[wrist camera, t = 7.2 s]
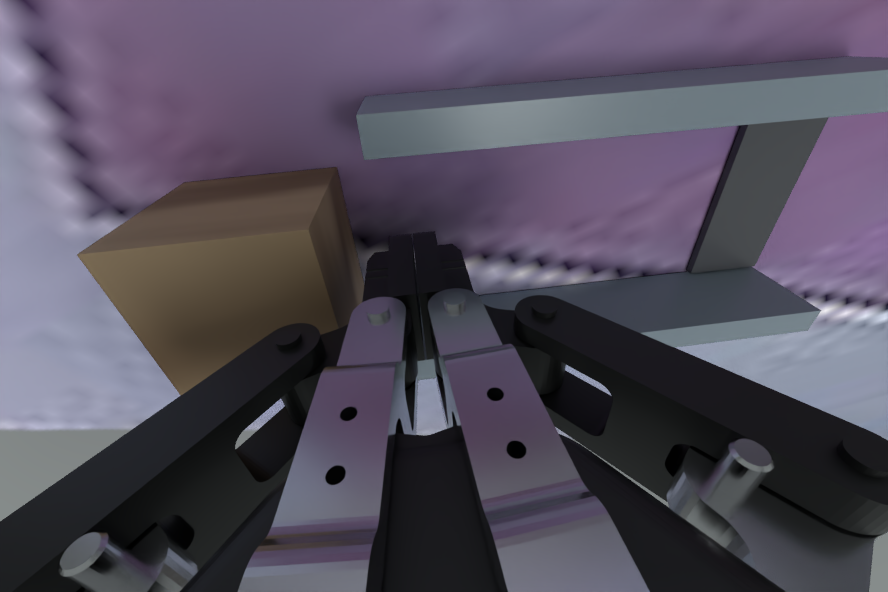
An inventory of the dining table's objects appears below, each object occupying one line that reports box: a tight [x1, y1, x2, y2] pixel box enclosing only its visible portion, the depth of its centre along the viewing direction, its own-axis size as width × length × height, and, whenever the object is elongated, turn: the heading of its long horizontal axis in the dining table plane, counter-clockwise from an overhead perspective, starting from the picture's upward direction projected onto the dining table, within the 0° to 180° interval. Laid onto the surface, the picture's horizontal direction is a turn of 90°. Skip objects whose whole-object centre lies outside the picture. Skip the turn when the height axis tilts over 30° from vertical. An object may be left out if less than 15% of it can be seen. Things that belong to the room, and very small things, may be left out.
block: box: [77, 167, 364, 395], centre depth 12 cm, size 5×5×5 cm
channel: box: [356, 56, 888, 380], centre depth 13 cm, size 9×16×4 cm, turn 94°
